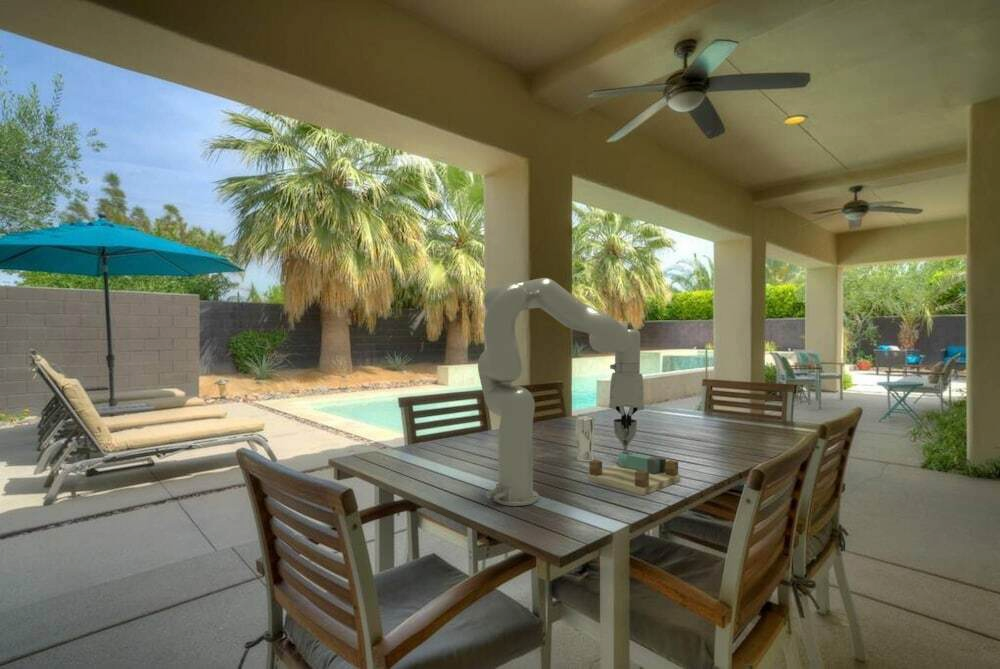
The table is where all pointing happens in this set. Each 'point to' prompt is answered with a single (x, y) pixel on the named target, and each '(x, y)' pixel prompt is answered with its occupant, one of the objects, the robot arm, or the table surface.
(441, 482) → the table surface
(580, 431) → the beer glass
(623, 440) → the silver goblet
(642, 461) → the leg
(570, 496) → the table surface
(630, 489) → the seat
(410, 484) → the table surface
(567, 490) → the table surface
